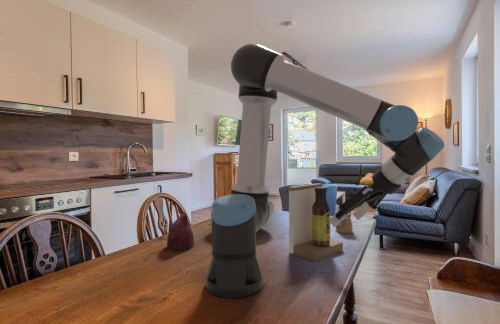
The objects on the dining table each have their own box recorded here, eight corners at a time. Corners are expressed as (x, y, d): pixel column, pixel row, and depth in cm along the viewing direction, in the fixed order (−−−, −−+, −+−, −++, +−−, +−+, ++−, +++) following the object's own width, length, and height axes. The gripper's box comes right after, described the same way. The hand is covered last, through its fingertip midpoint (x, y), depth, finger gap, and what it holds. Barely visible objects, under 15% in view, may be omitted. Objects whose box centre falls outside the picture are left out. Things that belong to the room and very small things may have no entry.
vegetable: (197, 254, 113) (207, 217, 112) (174, 258, 106) (184, 218, 104) (182, 242, 120) (191, 207, 119) (160, 244, 113) (169, 207, 111)
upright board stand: (314, 261, 96) (313, 189, 95) (288, 253, 104) (288, 187, 103) (343, 250, 106) (343, 185, 106) (318, 243, 115) (317, 183, 114)
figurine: (337, 228, 137) (337, 202, 136) (353, 230, 134) (353, 203, 133) (334, 232, 130) (334, 205, 130) (351, 234, 127) (351, 206, 127)
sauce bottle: (330, 247, 100) (330, 188, 100) (311, 246, 102) (311, 188, 101) (329, 241, 107) (329, 186, 106) (311, 240, 108) (311, 186, 107)
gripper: (379, 190, 74) (328, 237, 86) (419, 182, 90) (371, 223, 102) (359, 168, 78) (313, 216, 90) (401, 164, 94) (357, 205, 106)
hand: (344, 220), depth 96 cm, fingers open, 13 cm apart
